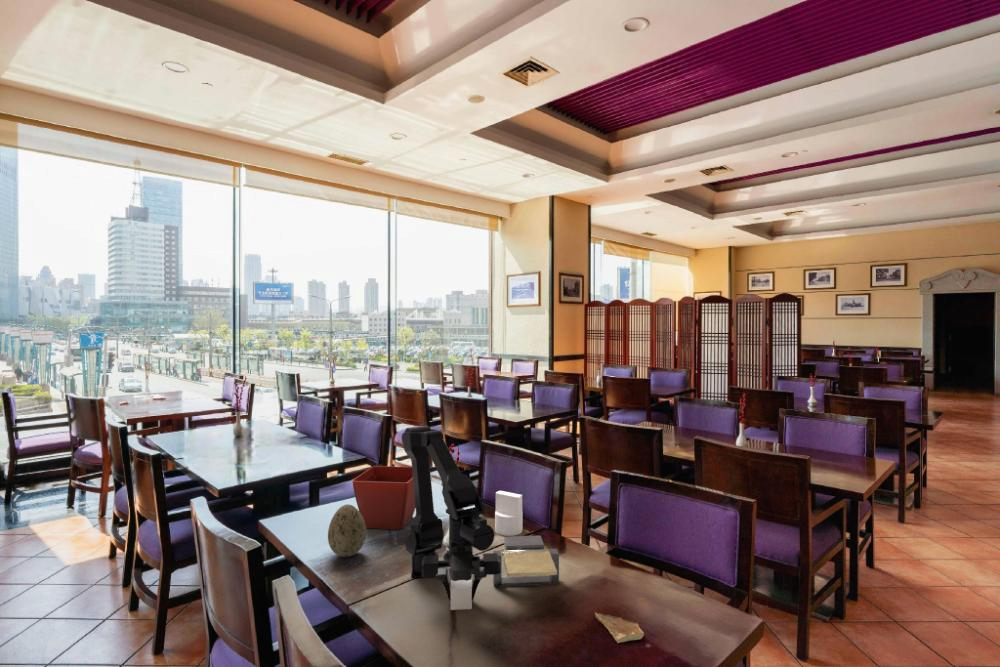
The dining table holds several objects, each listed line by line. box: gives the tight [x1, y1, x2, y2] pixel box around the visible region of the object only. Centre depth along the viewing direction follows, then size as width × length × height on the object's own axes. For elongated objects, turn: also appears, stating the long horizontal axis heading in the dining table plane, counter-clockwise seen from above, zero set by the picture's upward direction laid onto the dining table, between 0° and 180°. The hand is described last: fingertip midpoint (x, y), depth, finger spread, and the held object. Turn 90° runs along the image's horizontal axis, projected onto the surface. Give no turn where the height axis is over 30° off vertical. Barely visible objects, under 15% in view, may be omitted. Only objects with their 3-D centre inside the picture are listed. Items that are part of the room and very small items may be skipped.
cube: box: [450, 578, 473, 611], centre depth 126 cm, size 5×5×5 cm
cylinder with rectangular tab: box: [494, 490, 523, 537], centre depth 171 cm, size 9×9×12 cm
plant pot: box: [351, 465, 416, 531], centre depth 177 cm, size 19×19×17 cm
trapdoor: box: [501, 535, 557, 577], centre depth 133 cm, size 12×19×3 cm, turn 5°
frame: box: [492, 548, 560, 588], centre depth 136 cm, size 17×3×8 cm, turn 95°
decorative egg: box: [327, 503, 367, 558], centre depth 152 cm, size 11×11×15 cm
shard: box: [594, 611, 645, 644], centre depth 116 cm, size 11×8×2 cm
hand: (461, 599), depth 126 cm, fingers closed on cube, 5 cm apart
